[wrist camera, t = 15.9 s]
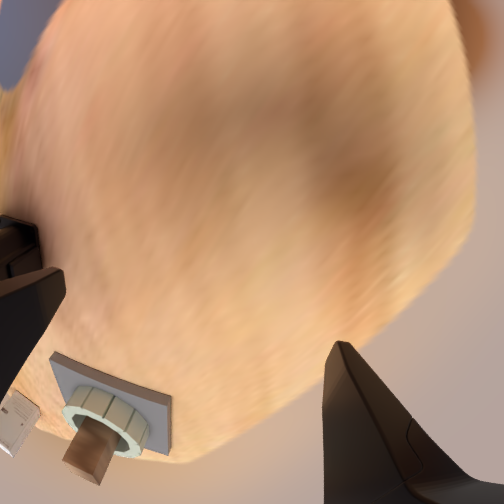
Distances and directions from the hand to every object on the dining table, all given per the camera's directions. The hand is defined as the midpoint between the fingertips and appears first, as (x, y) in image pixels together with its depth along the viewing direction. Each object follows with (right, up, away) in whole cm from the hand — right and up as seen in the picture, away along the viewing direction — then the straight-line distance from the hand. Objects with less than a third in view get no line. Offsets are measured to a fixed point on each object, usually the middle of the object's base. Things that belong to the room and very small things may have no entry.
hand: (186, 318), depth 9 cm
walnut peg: (-16, -19, +23) cm, 34 cm away
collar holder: (-16, -18, +25) cm, 35 cm away
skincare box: (-41, -27, +32) cm, 58 cm away
